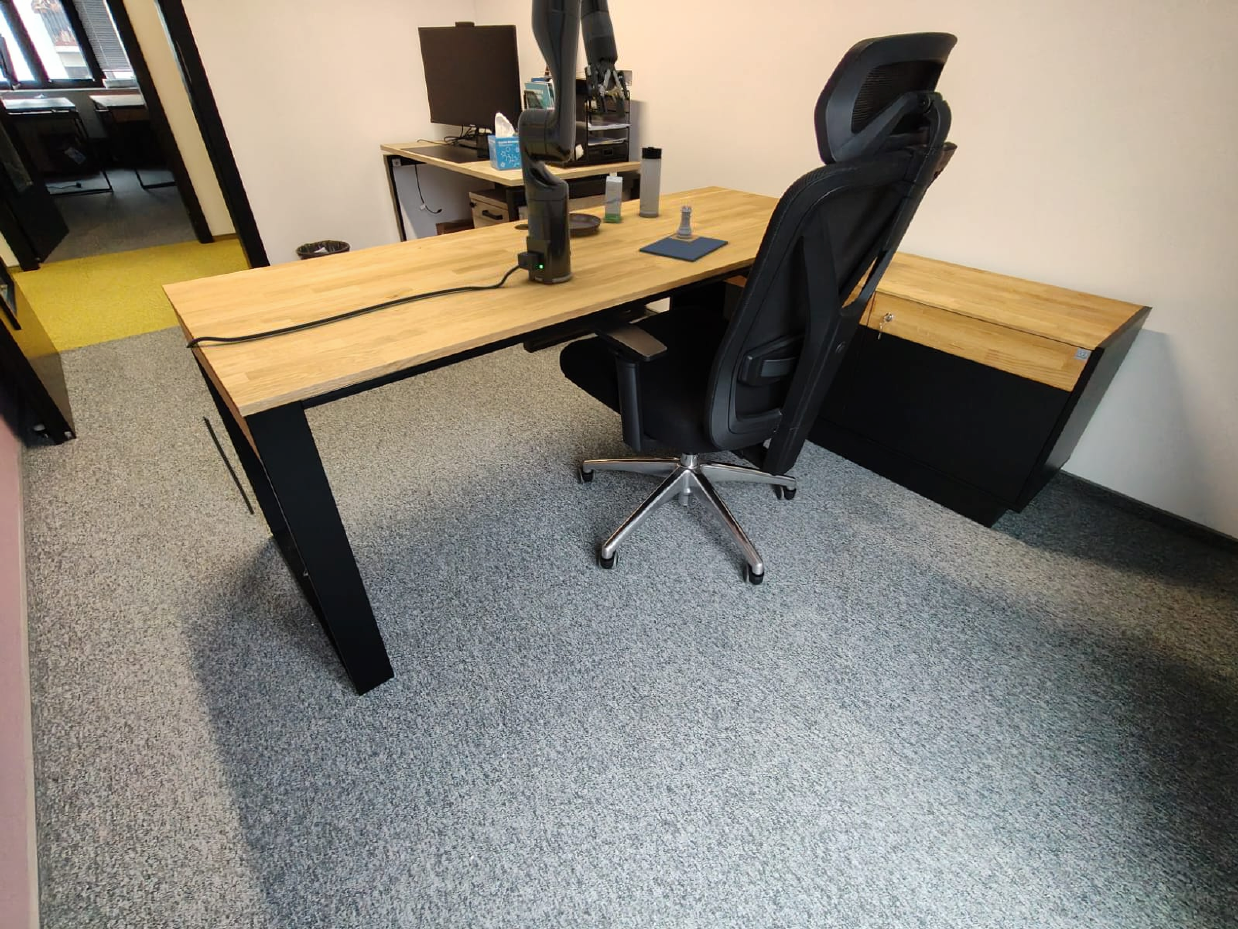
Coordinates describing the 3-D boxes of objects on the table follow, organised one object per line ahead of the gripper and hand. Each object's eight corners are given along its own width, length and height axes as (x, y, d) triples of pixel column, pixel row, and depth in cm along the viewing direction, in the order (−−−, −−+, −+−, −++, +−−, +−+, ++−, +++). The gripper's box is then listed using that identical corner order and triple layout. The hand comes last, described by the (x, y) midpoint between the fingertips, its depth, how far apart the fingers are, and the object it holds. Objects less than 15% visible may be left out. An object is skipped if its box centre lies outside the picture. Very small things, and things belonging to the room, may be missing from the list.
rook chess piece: (681, 234, 161) (683, 204, 157) (694, 236, 159) (697, 206, 155) (673, 237, 159) (675, 206, 154) (686, 239, 156) (689, 209, 152)
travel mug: (637, 217, 181) (640, 146, 169) (640, 212, 186) (643, 143, 174) (657, 218, 180) (661, 147, 168) (659, 213, 185) (663, 144, 173)
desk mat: (692, 262, 143) (692, 258, 142) (639, 251, 149) (639, 247, 149) (728, 243, 158) (728, 240, 157) (678, 234, 164) (678, 231, 164)
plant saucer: (559, 241, 155) (559, 230, 153) (531, 227, 167) (530, 216, 165) (613, 233, 163) (613, 222, 161) (582, 220, 175) (582, 210, 173)
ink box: (605, 216, 181) (605, 175, 174) (621, 216, 181) (622, 176, 174) (604, 222, 174) (604, 180, 167) (621, 223, 174) (622, 181, 167)
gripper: (594, 28, 126) (609, 110, 132) (627, 38, 137) (640, 114, 142) (569, 41, 130) (584, 120, 136) (603, 50, 141) (616, 123, 147)
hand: (612, 117), depth 139 cm, fingers open, 8 cm apart
